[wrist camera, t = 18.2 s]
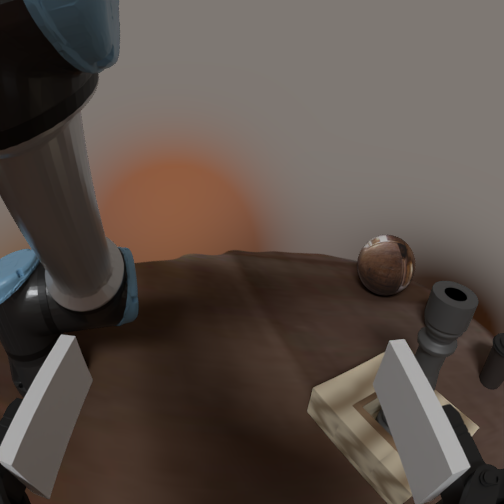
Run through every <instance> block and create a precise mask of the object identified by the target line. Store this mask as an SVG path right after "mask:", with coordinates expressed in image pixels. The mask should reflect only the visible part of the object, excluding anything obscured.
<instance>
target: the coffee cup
mask: <svg viewBox="0 0 504 504" xmlns="http://www.w3.org/2000/svg"><path fill="white" fill-rule="evenodd" d="M480 381H481V383H482V384H483V385H484V386H485V387H486V388H488V389H497V388H498V387H499V386H500V385H501V383H502V382H503V381H504V333H500V334H498V335H496V336H495V337H494V338H493V346H492V348H491V351H490V353H489V356H488V358H487V361H486V363H485V365H484V368H483V370H482V372H481V374H480Z"/></svg>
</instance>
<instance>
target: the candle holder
mask: <svg viewBox="0 0 504 504" xmlns="http://www.w3.org/2000/svg"><path fill="white" fill-rule="evenodd" d="M477 305H478V299H477V296H476V295H475V294H474V293H473V292H472V291H471V290H470V289H468V288H467V287H465V286H463V285H461V284H459V283H455V282H451V281H440V282H436V283H435V284H434V285H433V287H432V290H431V293H430V296H429V299H428V302H427V305H426V308H425V325H426V327H423V328H422V329H421V330H420V331H419V333H418V343H419V347H418V349H417V352H416V354H415V358H416V360H417V362H418V364H419V365H420V367H421V369H422V371H423V372H424V374H425V376H426V378H427V380H428V382H429V383H430V385H431V387H432V389H433V391H434V390H435V386H436V382H437V378H438V374H439V370H440V368H441V366H442V364H443V362H444V360H445V358H446V357H448V356H450V355H452V354H453V353H454V351H455V349H456V348H457V340H456V339H457V338H458V337H460V336H461V335H462V334H463V332H465V331H466V330H467V328H468V326H469V324H470V321H471V319H472V317H473V314H474V312H475V310H476V307H477ZM375 420H376V421H377V422H378V423H379V424H380V425H381V426H382V427H383V428H384V429H385V430H386V431H387V432H388V433H389V434H390V435H391V436H392V434H391V431H390V429H389V426H388V423H387V420H386V418H385V415H384V412H383V410H382V409H381V410H380V411H379V413H378V415H377V417H376V419H375Z"/></svg>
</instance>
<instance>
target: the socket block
mask: <svg viewBox="0 0 504 504" xmlns="http://www.w3.org/2000/svg"><path fill="white" fill-rule="evenodd" d="M384 354H385V352H384V353H382V354H380V355H378V356H376V357H374V358H373V359H371V360H369V361H367V362H365V363H363V364H361V365H359V366H357V367H355V368H353V369H351V370H349V371H347V372H345V373H343V374H341V375H339V376H337V377H335V378H333V379H331V380H329V381H327V382H324V383H322V384H320V385H318V386H316V387H314V388H313V390H312V394H311V398H310V402H309V405H308V409H307V412H308V413H309V414H310V416H311V417H312V418H313V419H314V420H315V422H316V423H317V424H318V425H319V426H320V428H321V429H322V430H323V431H324V432H325V434H326V435H327V436H328V437H329V438H330V439H331V441H332V442H333V443H334V444H335V445H336V446H337V448H338V449H339V450H340V451H341V452H342V453H343V455H344V456H345V457H346V458H347V459H348V460H349V461H350V463H351V464H352V465H353V466H354V467H355V468H356V469H357V470H358V472H359V473H360V474H361V475H362V476H363V477H364V478H365V479H366V481H367V482H368V483H369V484H370V485H371V486H372V487H373V488H374V489H375V490H376V492H377V493H378V494H379V495H380V496H381V497H382V498H383V499H384V500H385V501H386V502H387V503H388V504H403V503H404V502H405V501H407V500H408V499H409V498H410V497H411V496H413V495H412V492H411V489H410V486H409V483H408V480H407V477H406V474H405V471H404V468H403V465H402V462H401V459H400V456H399V454H398V451H397V448H396V445H395V442H394V440H393V437H392V436H391V435H390V434H389V433H388V432H387V431H386V430H385V429H384V428H383V427H382V426H381V425H380V424H379V423H378V422H377V421H376V420H375V419H376V417H377V415H378V413H379V411H380V410H381V409H382V407H381V405H380V402H379V399H378V397H377V394H376V392H375V389H374V387H373V382H374V379H375V377H376V374H377V372H378V369H379V367H380V364H381V362H382V359H383V356H384ZM434 393H435V395H436V397H437V399H438V400H439V402H440V404H441V406H443V405H447V404H451V403H450V402H449V401H448V400H446V399H445V398H444V397H443V396H442V395H440V394H439V393H438V392H437V391H436V390H434ZM451 405H452V404H451ZM452 406H453V405H452ZM453 407H454V408H455V409H456V410H457V411H458V412H459V413H460V415H461V417H462V419H463V421H464V424H465V425H466V427H467V428H468V432H470V434H471V436H473V434H474V433H475V432H476V431H477V430H478V428H479V427H478V426H477V425H476V424H475V423H473V422H472V421H471V420H470V419H469V418H468V417H466V416H465V415H464V414H463V413H462V412H461V411H459V410H458V409H457V408H456V407H455V406H453Z"/></svg>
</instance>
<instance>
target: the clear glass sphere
mask: <svg viewBox="0 0 504 504" xmlns="http://www.w3.org/2000/svg"><path fill="white" fill-rule="evenodd" d="M357 269H358V274H359V277H360V279H361V281H362V283H363V284H364V285H365V287H366V288H368V289H369V290H370V291H372V292H373V293H376V294H379V295H393V294H396V293H399V292H400V291H402V290H403V289H405V288H406V287H407V286H408V284H409V283H410V282H411V280H412V278H413V275H414V271H415V258H414V255H413V252H412V250H411V248H410V247H409V245H408V244H407V243H406V242H405V241H403V240H402V239H400V238H398V237H396V236H392V235H381V236H377V237H375V238H373V239H371V240H370V241H368V242H367V243H366V244H365V245H364V247H363V248H362V250H361V252H360V254H359V257H358V262H357Z"/></svg>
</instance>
